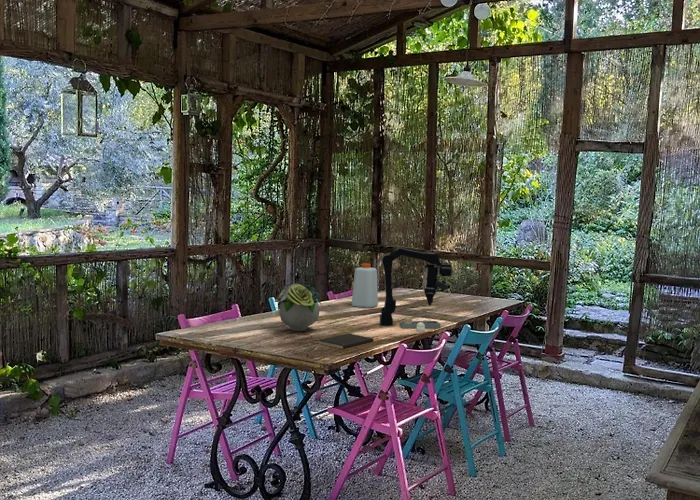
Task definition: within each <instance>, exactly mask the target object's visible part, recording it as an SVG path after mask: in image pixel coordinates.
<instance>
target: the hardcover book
mask: <svg viewBox="0 0 700 500" xmlns="http://www.w3.org/2000/svg"><path fill="white" fill-rule="evenodd" d="M317 341H318V344H319V345H322V344H323V345H324V346H327V347H328V346H329V347H332V348H336V349H337V348H338V349H341V350H346V349H349V348H354V347H357V346H361V345H362V346H363V345H365V344H370V343H373V342H374V338H373V337H370V336H365V335H360V334H359V335H358V334H353V333H349V332H348V333H344V334H339V335H334V336H330V337H326V338H320V339H317ZM323 345H322V346H323Z"/></svg>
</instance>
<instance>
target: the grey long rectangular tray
mask: <svg viewBox="0 0 700 500" xmlns="http://www.w3.org/2000/svg"><path fill="white" fill-rule="evenodd" d="M419 322H422V323H424V325H425V329H441V322H438V321H436V320H412V324H404V320H403V321H401V320H400V321H399V322H398V326H399V327H400V328H401V329H403V330H406V329H408V330H409V329H410V330H411V329H415V330H416V327H417V324H418V323H419Z"/></svg>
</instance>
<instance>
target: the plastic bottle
mask: <svg viewBox="0 0 700 500" xmlns="http://www.w3.org/2000/svg"><path fill="white" fill-rule="evenodd" d="M377 271H378V270H377V268H375V267H371V263H364V262H363V263H361V267H356V268H355V269H354V274H353V275H354V277H353V287H352V296H351V306H352V307H354V306H356V307H355V308H362V307H364V308H363V309H372V308H375V307H378V305H379V293H378V272H377Z"/></svg>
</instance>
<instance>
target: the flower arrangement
mask: <svg viewBox="0 0 700 500" xmlns="http://www.w3.org/2000/svg"><path fill="white" fill-rule="evenodd" d="M319 299H320V295H319V292H318V291H316V289H315V287H314V286H311V285H309V284H308V285H305V284H303V283H299V282H297V283H293V284H292V283H291V284H290V285H289V286H287V285H284V287H283V290H281V292H280V293H279V295H278V297H277V298H276V299H275V300H274V303H277V312H278V315H279V317H280V321H281V322H283V324H284V325H286V326H288V327H289V328H290V330H291V331H296V332H303V331H307V330H308V328H309V327H310V326H312V325H313V324H315V323H316V322H317V321H318V319H319V316H320V306H319V304H320V305H322V303H321V300H319Z"/></svg>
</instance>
